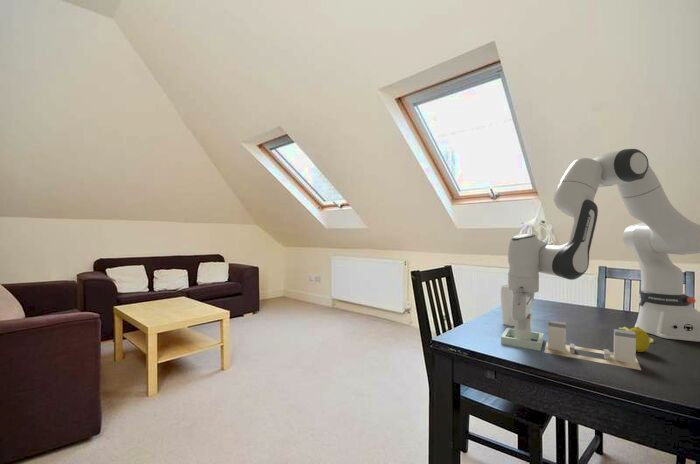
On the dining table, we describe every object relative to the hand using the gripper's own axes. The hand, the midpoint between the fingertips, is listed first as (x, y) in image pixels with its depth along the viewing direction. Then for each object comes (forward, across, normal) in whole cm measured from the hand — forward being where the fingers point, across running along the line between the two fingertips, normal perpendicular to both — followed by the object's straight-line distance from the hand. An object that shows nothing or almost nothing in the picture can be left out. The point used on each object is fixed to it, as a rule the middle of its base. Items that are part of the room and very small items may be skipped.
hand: (522, 327), depth 109 cm
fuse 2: (+5, -1, -26) cm, 26 cm away
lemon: (+6, +10, -30) cm, 32 cm away
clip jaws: (+5, -1, -18) cm, 18 cm away
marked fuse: (+4, 0, 0) cm, 4 cm away
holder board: (+5, -1, -18) cm, 18 cm away
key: (+6, +28, -31) cm, 42 cm away
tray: (+5, 0, 0) cm, 5 cm away
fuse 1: (+5, -1, -9) cm, 11 cm away
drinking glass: (+6, +19, +6) cm, 21 cm away
